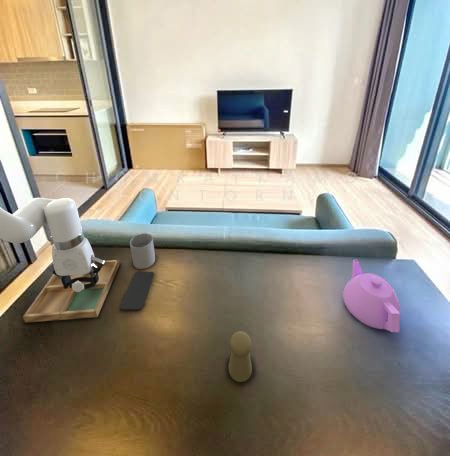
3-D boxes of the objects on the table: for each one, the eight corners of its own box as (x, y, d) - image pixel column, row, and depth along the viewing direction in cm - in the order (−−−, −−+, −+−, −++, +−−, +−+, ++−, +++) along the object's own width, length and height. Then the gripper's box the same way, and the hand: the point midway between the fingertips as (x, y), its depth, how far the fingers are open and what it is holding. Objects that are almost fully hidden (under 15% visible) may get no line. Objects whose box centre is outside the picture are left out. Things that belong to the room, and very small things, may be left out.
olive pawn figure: (239, 350, 68) (239, 321, 64) (256, 368, 64) (258, 339, 60) (223, 367, 64) (223, 338, 60) (241, 388, 60) (241, 358, 56)
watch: (66, 292, 78) (63, 283, 76) (75, 279, 82) (72, 271, 81) (90, 293, 77) (87, 284, 76) (98, 280, 82) (95, 272, 80)
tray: (25, 322, 76) (22, 316, 75) (62, 268, 96) (60, 263, 95) (97, 317, 77) (96, 311, 76) (119, 264, 97) (118, 259, 96)
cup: (146, 250, 105) (143, 230, 101) (159, 258, 100) (157, 238, 96) (129, 262, 98) (125, 242, 95) (142, 272, 94) (138, 251, 90)
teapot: (419, 343, 69) (431, 312, 65) (365, 347, 68) (374, 316, 64) (371, 279, 90) (378, 252, 86) (329, 281, 89) (334, 254, 85)
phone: (118, 308, 79) (135, 271, 93) (118, 310, 79) (135, 272, 93) (141, 309, 79) (154, 271, 93) (141, 311, 79) (155, 273, 93)
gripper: (29, 249, 69) (46, 296, 75) (94, 246, 70) (105, 292, 76) (45, 232, 76) (59, 276, 82) (104, 229, 77) (113, 273, 83)
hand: (81, 284), depth 79 cm, fingers closed on watch, 7 cm apart
